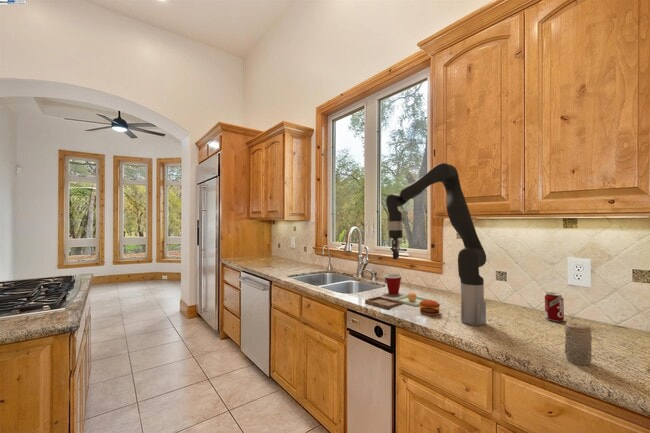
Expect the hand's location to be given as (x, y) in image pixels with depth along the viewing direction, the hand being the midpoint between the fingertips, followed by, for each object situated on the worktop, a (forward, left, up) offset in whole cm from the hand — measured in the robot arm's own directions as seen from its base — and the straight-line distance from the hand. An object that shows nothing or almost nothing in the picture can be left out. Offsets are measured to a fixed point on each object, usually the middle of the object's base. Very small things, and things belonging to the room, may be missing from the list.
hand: (396, 258), depth 163 cm
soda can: (-65, -30, -25) cm, 75 cm away
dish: (-6, -7, -25) cm, 26 cm away
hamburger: (-23, +4, -25) cm, 34 cm away
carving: (-80, +14, -25) cm, 85 cm away
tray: (+2, +8, -25) cm, 26 cm away
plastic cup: (+12, -14, -25) cm, 31 cm away
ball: (-6, -7, -24) cm, 25 cm away
